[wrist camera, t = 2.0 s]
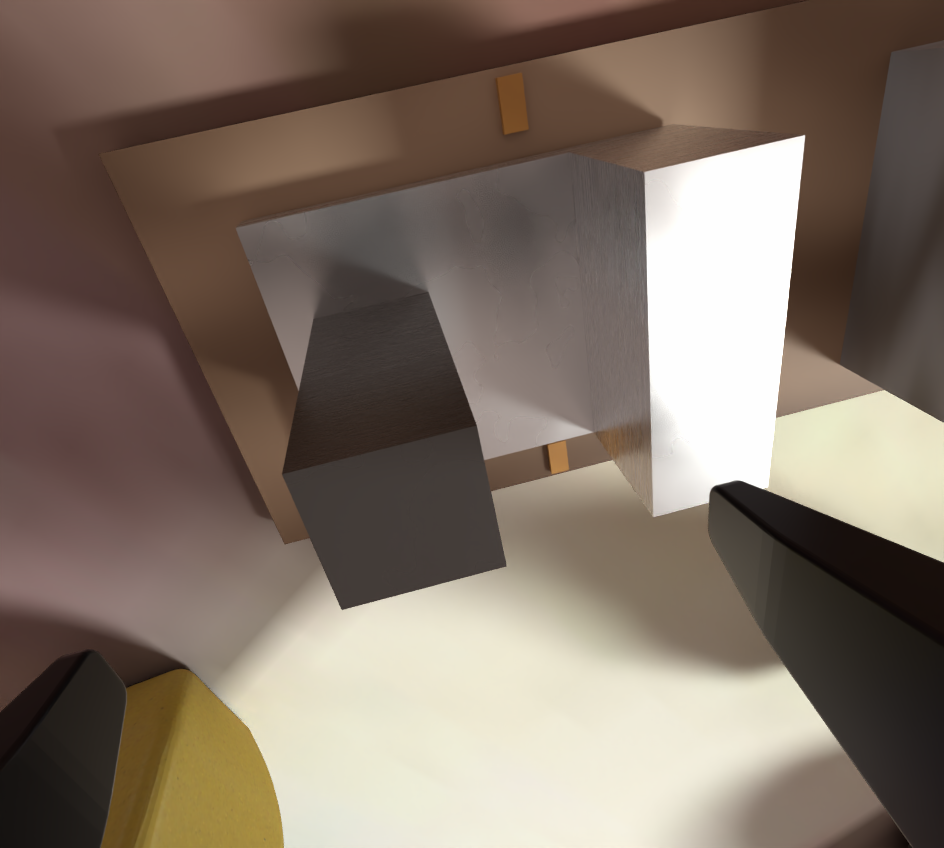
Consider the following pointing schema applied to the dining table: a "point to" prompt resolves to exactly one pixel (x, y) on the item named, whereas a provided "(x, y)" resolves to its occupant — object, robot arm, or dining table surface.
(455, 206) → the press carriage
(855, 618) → the robot arm
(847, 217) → the press base
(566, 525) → the dining table surface
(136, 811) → the flower pot
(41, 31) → the dining table surface
